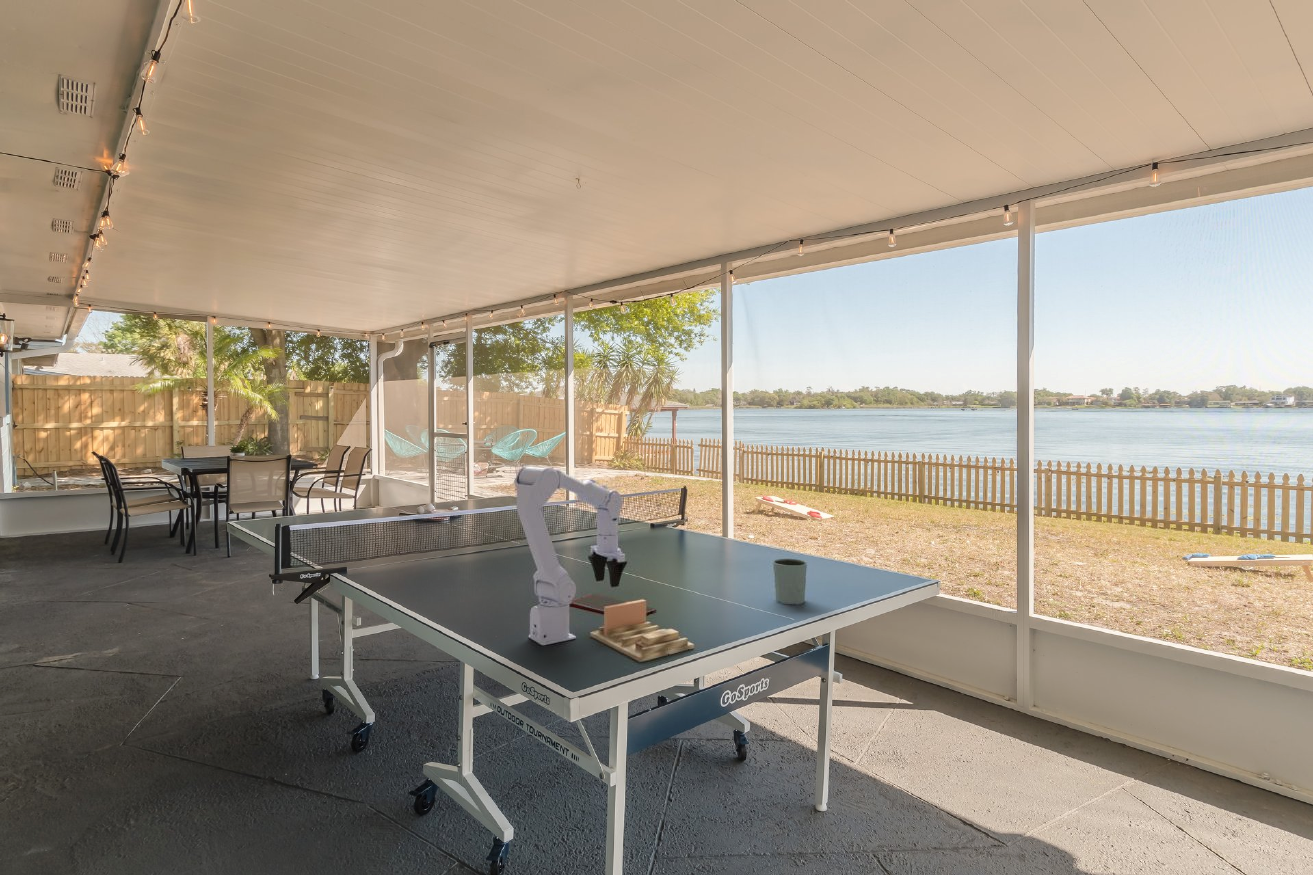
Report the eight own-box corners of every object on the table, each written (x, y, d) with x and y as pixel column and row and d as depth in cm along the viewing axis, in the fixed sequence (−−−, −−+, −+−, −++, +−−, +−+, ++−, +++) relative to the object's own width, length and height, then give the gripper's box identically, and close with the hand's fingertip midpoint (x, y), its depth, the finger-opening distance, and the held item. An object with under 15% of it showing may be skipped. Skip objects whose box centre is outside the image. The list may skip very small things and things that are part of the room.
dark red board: (632, 618, 187) (566, 601, 202) (632, 624, 187) (566, 606, 202) (658, 608, 196) (594, 592, 211) (658, 613, 197) (594, 597, 211)
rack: (639, 661, 156) (639, 651, 156) (590, 636, 174) (590, 626, 174) (693, 648, 166) (693, 638, 165) (641, 624, 183) (641, 615, 183)
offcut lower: (643, 652, 159) (643, 646, 159) (635, 648, 162) (635, 642, 162) (680, 643, 166) (680, 637, 166) (672, 639, 168) (672, 633, 168)
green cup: (806, 606, 203) (807, 566, 202) (771, 604, 205) (772, 564, 204) (805, 597, 213) (806, 559, 212) (773, 595, 215) (773, 557, 214)
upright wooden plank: (607, 635, 171) (607, 608, 171) (603, 634, 172) (604, 606, 172) (646, 627, 178) (646, 600, 178) (642, 625, 179) (642, 599, 179)
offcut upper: (648, 645, 160) (648, 638, 160) (641, 641, 163) (641, 635, 162) (678, 637, 165) (678, 631, 165) (671, 634, 168) (671, 628, 168)
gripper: (634, 536, 182) (634, 587, 182) (605, 528, 193) (605, 576, 194) (612, 539, 178) (612, 590, 178) (584, 531, 189) (583, 579, 190)
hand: (607, 583), depth 186 cm, fingers open, 7 cm apart
